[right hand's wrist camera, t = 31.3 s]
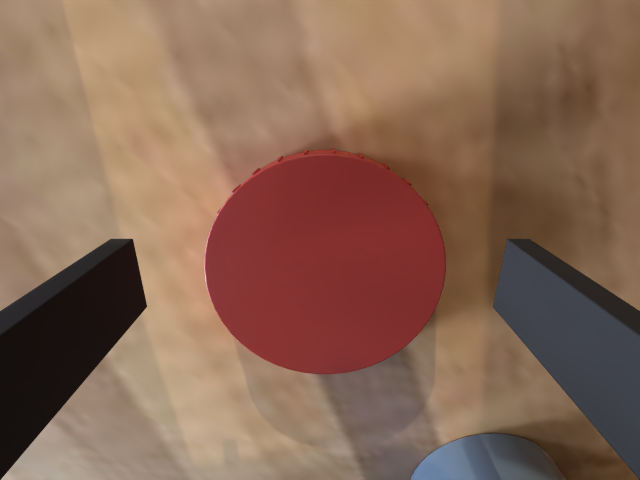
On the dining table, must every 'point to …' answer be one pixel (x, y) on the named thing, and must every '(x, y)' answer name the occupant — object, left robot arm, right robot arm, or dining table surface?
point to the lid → (325, 262)
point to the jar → (488, 460)
